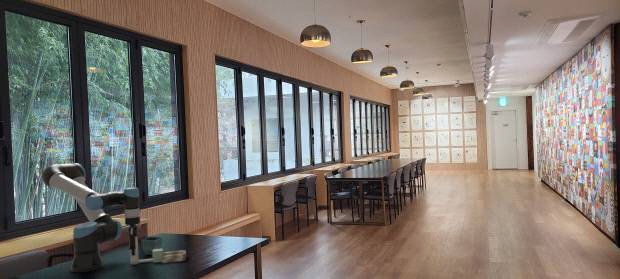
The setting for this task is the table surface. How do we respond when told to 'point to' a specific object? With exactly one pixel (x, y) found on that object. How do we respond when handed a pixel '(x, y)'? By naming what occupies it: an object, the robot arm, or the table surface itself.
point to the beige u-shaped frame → (174, 256)
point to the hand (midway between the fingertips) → (134, 260)
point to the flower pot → (151, 244)
